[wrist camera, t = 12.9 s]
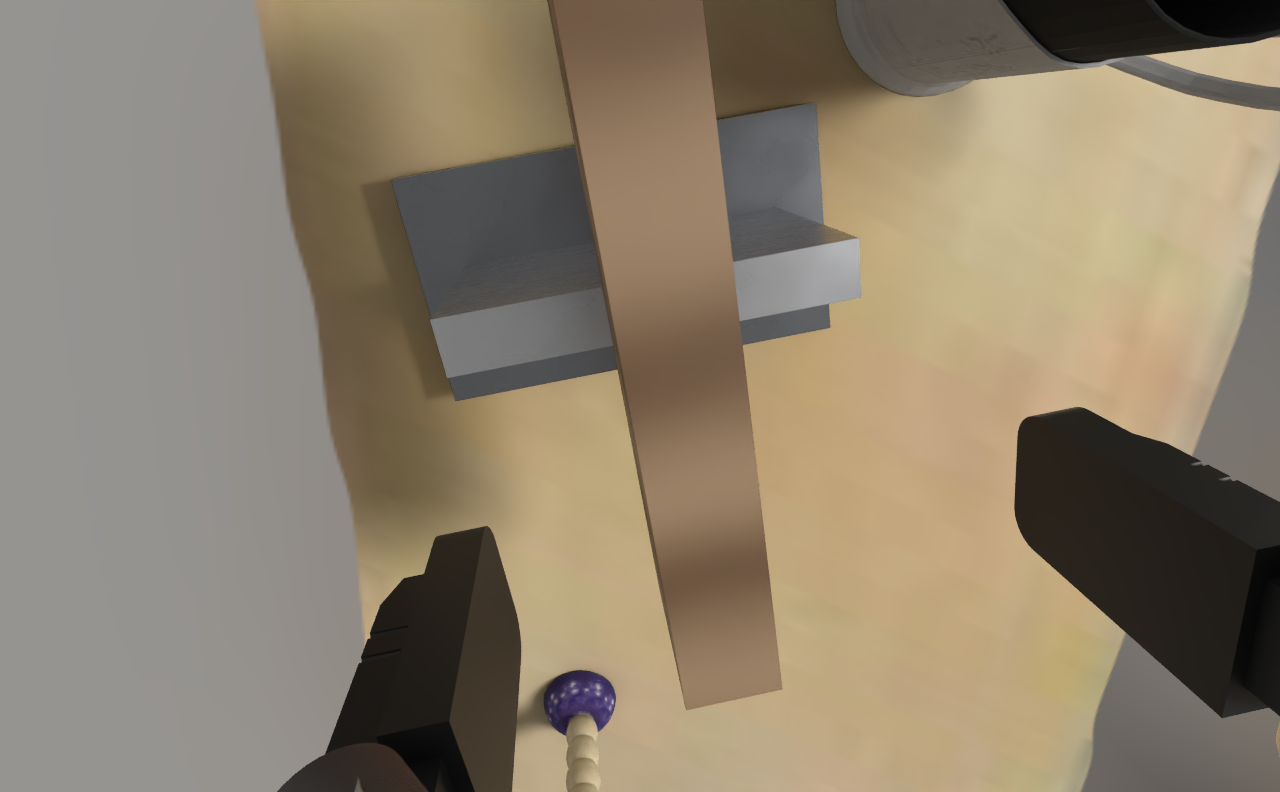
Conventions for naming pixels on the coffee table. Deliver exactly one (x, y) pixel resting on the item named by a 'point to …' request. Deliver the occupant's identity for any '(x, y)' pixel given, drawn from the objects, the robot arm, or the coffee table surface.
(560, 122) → the coffee table surface
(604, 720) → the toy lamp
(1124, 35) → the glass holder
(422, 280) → the ridge stand
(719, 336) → the brown wooden plank
